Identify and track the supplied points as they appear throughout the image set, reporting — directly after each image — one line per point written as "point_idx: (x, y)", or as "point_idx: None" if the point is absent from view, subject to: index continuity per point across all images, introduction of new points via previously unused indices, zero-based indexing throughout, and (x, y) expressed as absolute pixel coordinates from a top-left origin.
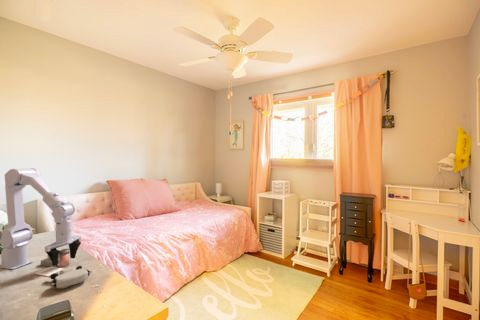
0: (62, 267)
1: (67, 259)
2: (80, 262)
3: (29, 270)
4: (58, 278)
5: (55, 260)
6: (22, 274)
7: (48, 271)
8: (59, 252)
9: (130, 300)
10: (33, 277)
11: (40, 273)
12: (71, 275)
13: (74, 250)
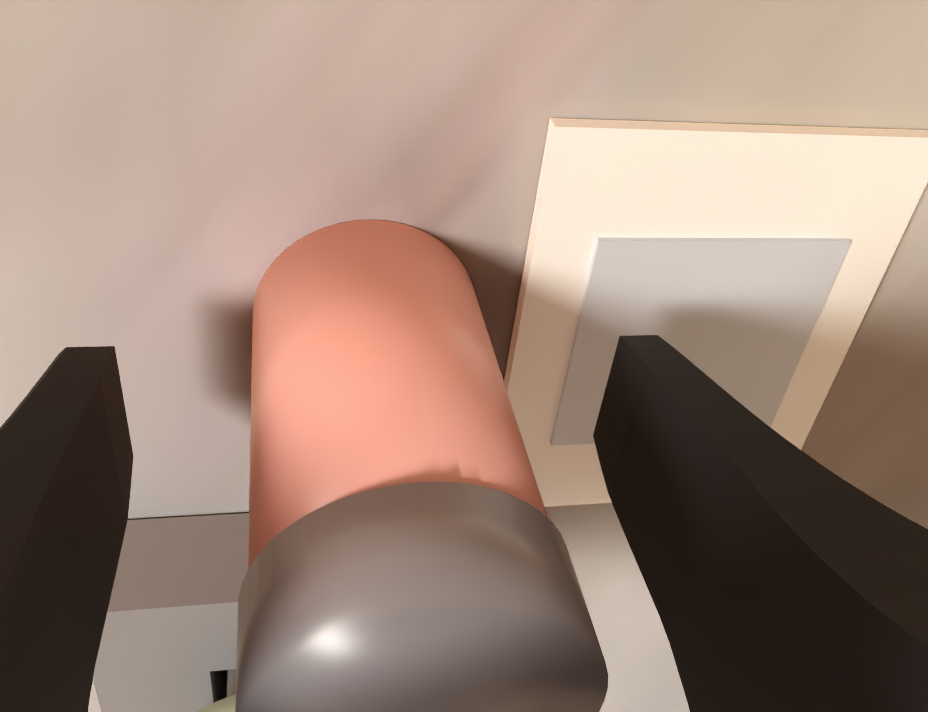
0: (464, 267)
1: (385, 341)
2: (10, 81)
3: (639, 647)
4: None
5: (777, 434)
6: None
7: (727, 339)
8: (591, 687)
9: None
10: (911, 377)
11: (800, 398)
12: None
13: (35, 556)
